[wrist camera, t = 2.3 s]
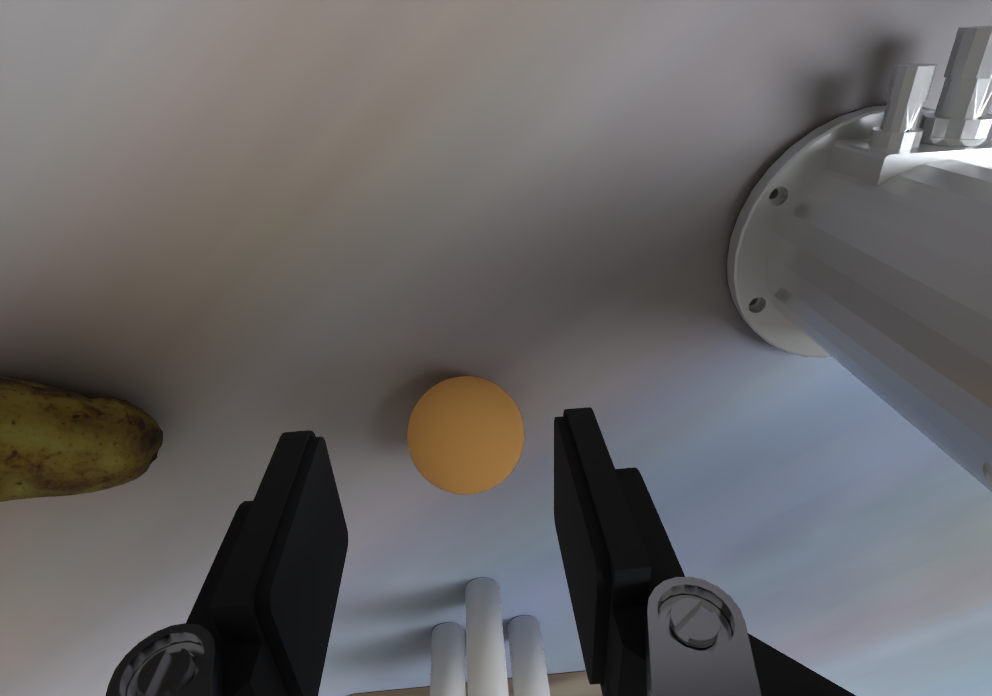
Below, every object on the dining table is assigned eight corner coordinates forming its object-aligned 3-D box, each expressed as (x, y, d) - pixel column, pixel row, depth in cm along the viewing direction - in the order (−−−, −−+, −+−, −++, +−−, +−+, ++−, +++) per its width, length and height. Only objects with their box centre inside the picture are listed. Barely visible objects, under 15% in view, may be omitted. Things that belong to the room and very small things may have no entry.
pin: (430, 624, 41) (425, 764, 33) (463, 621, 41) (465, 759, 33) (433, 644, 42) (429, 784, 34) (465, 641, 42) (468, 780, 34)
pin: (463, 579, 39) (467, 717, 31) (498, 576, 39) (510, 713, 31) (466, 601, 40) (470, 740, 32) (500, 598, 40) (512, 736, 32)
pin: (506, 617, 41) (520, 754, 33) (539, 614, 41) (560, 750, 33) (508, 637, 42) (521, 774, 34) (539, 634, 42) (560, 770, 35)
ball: (404, 359, 30) (394, 428, 25) (516, 350, 30) (529, 416, 25) (417, 447, 33) (411, 525, 28) (519, 439, 33) (532, 514, 28)
